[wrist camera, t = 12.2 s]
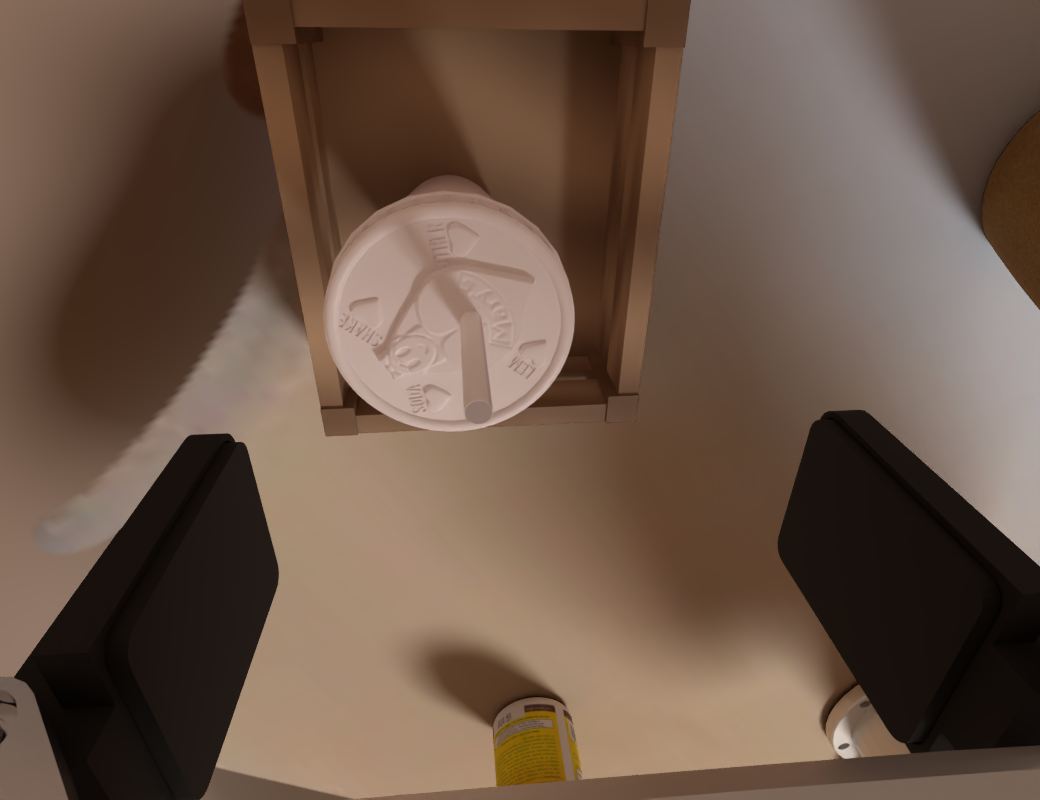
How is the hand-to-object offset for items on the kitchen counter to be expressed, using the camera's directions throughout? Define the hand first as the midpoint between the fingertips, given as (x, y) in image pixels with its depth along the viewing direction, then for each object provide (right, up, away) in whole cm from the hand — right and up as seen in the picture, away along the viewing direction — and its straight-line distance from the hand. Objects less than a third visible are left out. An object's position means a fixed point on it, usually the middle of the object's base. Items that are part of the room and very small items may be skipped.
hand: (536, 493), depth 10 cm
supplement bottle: (+1, -21, +33) cm, 38 cm away
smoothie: (-3, +8, +13) cm, 16 cm away
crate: (-2, +9, +14) cm, 17 cm away
